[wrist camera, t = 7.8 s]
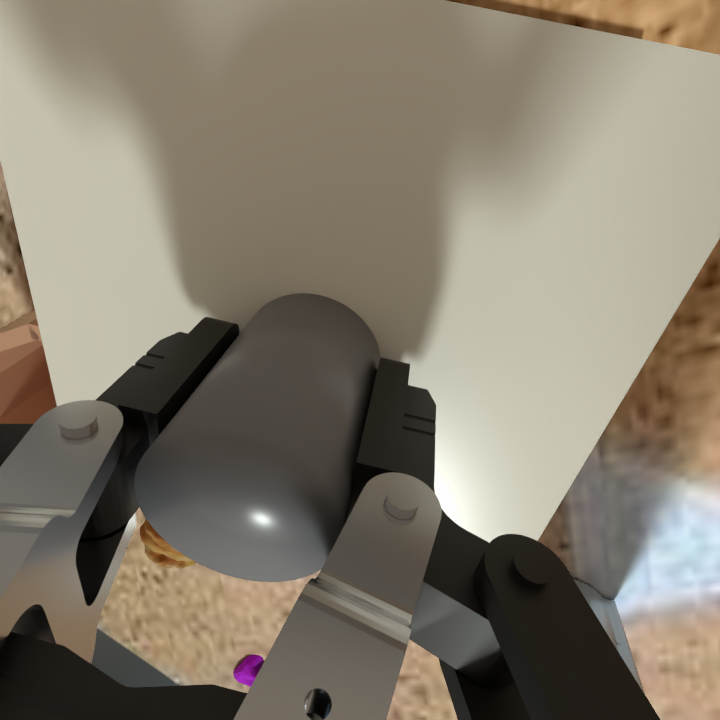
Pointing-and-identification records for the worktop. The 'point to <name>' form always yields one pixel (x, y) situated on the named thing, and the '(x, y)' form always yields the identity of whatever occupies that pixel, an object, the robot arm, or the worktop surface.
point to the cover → (353, 240)
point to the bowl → (24, 373)
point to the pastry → (162, 549)
